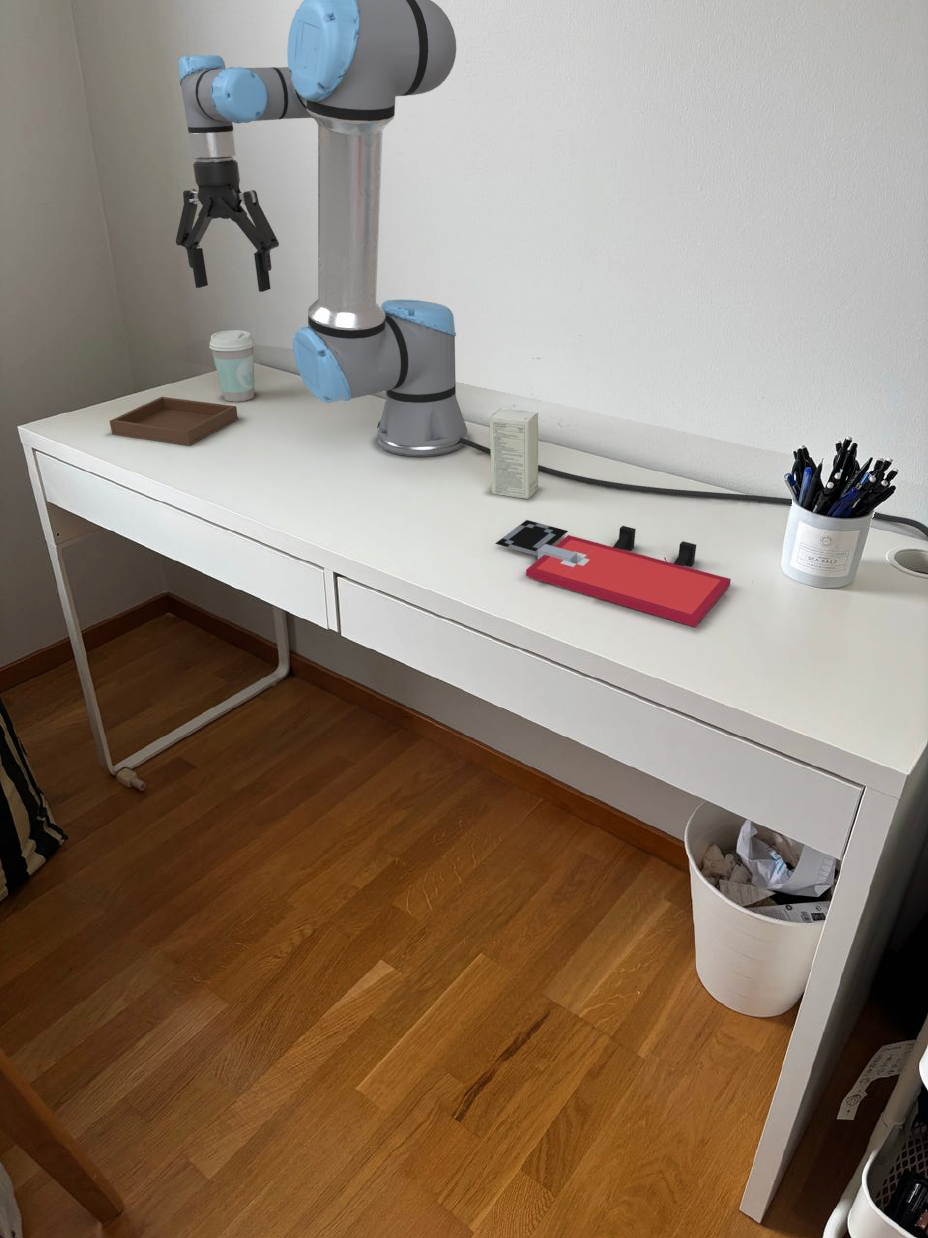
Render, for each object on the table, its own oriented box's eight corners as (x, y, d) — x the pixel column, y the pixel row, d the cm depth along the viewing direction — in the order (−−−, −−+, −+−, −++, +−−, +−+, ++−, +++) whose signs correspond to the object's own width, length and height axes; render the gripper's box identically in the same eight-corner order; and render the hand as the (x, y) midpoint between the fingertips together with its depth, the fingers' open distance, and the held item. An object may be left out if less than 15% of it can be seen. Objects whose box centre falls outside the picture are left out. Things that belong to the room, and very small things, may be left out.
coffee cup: (240, 406, 181) (231, 342, 175) (207, 399, 185) (198, 337, 179) (270, 394, 188) (263, 332, 181) (238, 387, 192) (230, 327, 185)
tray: (238, 419, 175) (236, 406, 174) (189, 445, 164) (187, 431, 162) (164, 409, 181) (161, 396, 179) (112, 434, 169) (109, 420, 168)
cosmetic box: (538, 489, 145) (540, 411, 139) (527, 500, 142) (529, 421, 135) (500, 483, 147) (500, 406, 141) (489, 493, 144) (488, 415, 138)
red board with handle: (533, 520, 135) (475, 564, 124) (533, 502, 133) (475, 545, 123) (739, 576, 121) (694, 630, 110) (742, 556, 119) (697, 609, 109)
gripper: (289, 158, 163) (302, 287, 173) (168, 157, 171) (188, 281, 182) (265, 161, 157) (280, 295, 167) (141, 161, 165) (164, 288, 176)
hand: (232, 288), depth 174 cm, fingers open, 13 cm apart
